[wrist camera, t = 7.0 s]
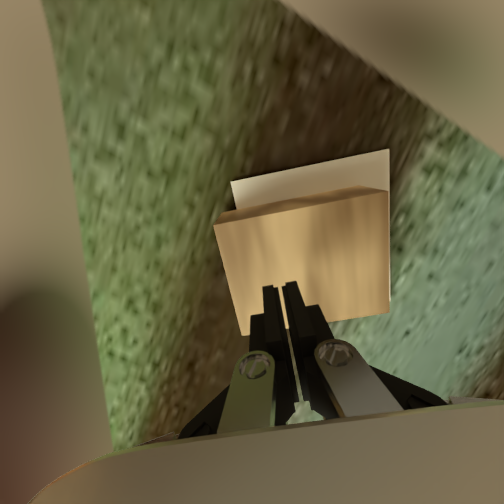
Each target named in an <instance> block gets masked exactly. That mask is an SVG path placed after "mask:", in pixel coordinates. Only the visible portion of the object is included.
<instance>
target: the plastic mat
mask: <svg viewBox="0 0 504 504" xmlns="http://www.w3.org/2000/svg"><path fill="white" fill-rule="evenodd" d="M358 185H360V186H365V187H371V188H376V189H381V190H386V191H388V199H389V301H390V173H389V149H385V150H380V151H375V152H370V153H365V154H361V155H356V156H351V157H346V158H341V159H337V160H332V161H327V162H322V163H318V164H313V165H308V166H303V167H298V168H294V169H289V170H284V171H279V172H274V173H270V174H265V175H260V176H255V177H251V178H246V179H241V180H236V181H231V186H232V191H233V195H234V200H235V204H236V209H242V208H247V207H252V206H257V205H262V204H267V203H272V202H277V201H282V200H287V199H292V198H297V197H302V196H307V195H312V194H317V193H322V192H327V191H333V190H338V189H343V188H348V187H353V186H358Z"/></svg>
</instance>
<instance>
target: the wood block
mask: <svg viewBox="0 0 504 504" xmlns="http://www.w3.org/2000/svg"><path fill="white" fill-rule="evenodd" d="M213 226H214V230H215V234H216V238H217V241H218V245H219V249H220V253H221V257H222V261H223V265H224V268H225V272H226V276H227V280H228V284H229V288H230V291H231V295H232V299H233V303H234V307H235V311H236V314H237V318H238V322H239V326H240V330H241V334H242V336H244V335H250V316H251V315H255V314H261V313H264V307H263V291H262V286H268V285H273V287H278V290H279V295H280V300H281V306H282V311H283V316H284V322H285V327H286V329H288V328H289V326H288V321H287V315H286V309H285V304H284V298H283V292H282V287H281V286H285V282H291V281H297V284H298V287H299V290H300V292H301V295H302V298H303V301H304V304H305V306H310V305H316V304H319V306H320V308H321V310H322V312H323V315H324V317H325V319H326V321H327V322H332V321H339V320H345V319H351V318H358V317H364V316H370V315H377V314H383V313H389V199H388V191H386V190H381V189H376V188H371V187H365V186H360V185H358V186H353V187H348V188H343V189H338V190H333V191H327V192H322V193H317V194H312V195H307V196H302V197H297V198H292V199H287V200H282V201H277V202H272V203H267V204H262V205H257V206H252V207H247V208H242V209H237V210H232V211H227V212H222V213H221V215H220V216H219V218H218V219H217V221H216V222H215V224H214V225H213Z"/></svg>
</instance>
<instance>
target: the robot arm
mask: <svg viewBox="0 0 504 504" xmlns="http://www.w3.org/2000/svg"><path fill="white" fill-rule="evenodd" d="M281 287H282V292H283V298H284V304H285V309H286V315H287V321H288V326H289V332H290V337H291V342H292V347H293V352H294V356H295V361H296V366H297V371H298V376H299V380H300V385H301V390H302V395H303V400H304V401H309V402H310V406H311V410H315V411H316V412H317V413H319V414H320V415H322V416H323V419H324V420H320V421H312V422H305V423H297V424H289V425H288V422H287V421H288V420H289V418H290V417H291V416H292V414H293V413H294V412H295V406H294V402H299V397H298V392H297V386H296V381H295V375H294V370H293V365H292V359H291V354H290V348H289V343H288V337H287V332H286V327H285V322H284V316H283V311H282V306H281V300H280V295H279V290H278V287H273V285H268V286H262V291H263V307H264V313H261V314H255V315H251V316H250V344H249V353H246V354H245V355H243V356H242V357H241V358H240V359H239V360H238V361H237V363H236V365H235V369H234V372H233V376H232V380H231V383H230V385H229V386H228V387H226V388H225V389H224V390H223V391H222V392H221V393H220V394H219V395H218V396H217V397H216V398H215V399H214V400H212V401H211V402H210V403H209V404H208V405H207V406H206V407H205V408H204V409H203V410H202V411H201V412H200V413H199V414H197V415H196V416H195V417H194V418H193V419H192V420H191V421H190V422H189V423H188V424H187V425H186V426H185V427H184V428H183V429H182V431H181V433H180V434H178V435H175V434H174V432H172V433H169V434H167V435H164V436H161V437H159V438H156V439H153V440H151V441H148V442H145V443H142V444H140V445H137V446H134V447H132V448H127V449H123V450H120V451H116V452H112V453H109V454H106V455H104V456H101V457H99V458H96V459H94V460H91V461H88V462H86V463H84V464H83V465H81V466H79V467H77V468H75V469H73V470H71V471H69V472H67V473H65V474H64V475H62V476H61V477H59V478H57V479H56V480H55V481H53V482H52V483H50V484H49V485H47V486H46V487H45V488H44V489H43V490H41V491H40V492H39V493H38V494H37V495H35V497H33V499H32V500H31V501H30V502H29V503H28V504H504V400H494V399H480V398H467V397H453V396H449V400H443V399H441V398H440V397H439V396H437V395H435V394H433V393H431V392H430V391H427V390H425V389H423V388H420V387H418V386H416V385H413V384H411V383H409V382H407V381H404V380H402V379H400V378H397V377H395V376H393V375H390V374H388V373H386V372H384V371H381V370H379V369H377V368H374V367H372V366H370V365H368V364H367V362H366V361H365V360H364V359H363V357H362V356H361V355H360V353H359V352H358V351H357V350H356V348H355V347H354V346H352V345H351V344H350V343H348V342H346V341H343V340H339V339H334V336H333V334H332V332H331V330H330V328H329V325H328V323H327V321H326V319H325V317H324V315H323V312H322V310H321V308H320V306H319V304H316V305H310V306H305V304H304V301H303V298H302V295H301V292H300V290H299V287H298V284H297V281H291V282H285V286H281Z"/></svg>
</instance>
